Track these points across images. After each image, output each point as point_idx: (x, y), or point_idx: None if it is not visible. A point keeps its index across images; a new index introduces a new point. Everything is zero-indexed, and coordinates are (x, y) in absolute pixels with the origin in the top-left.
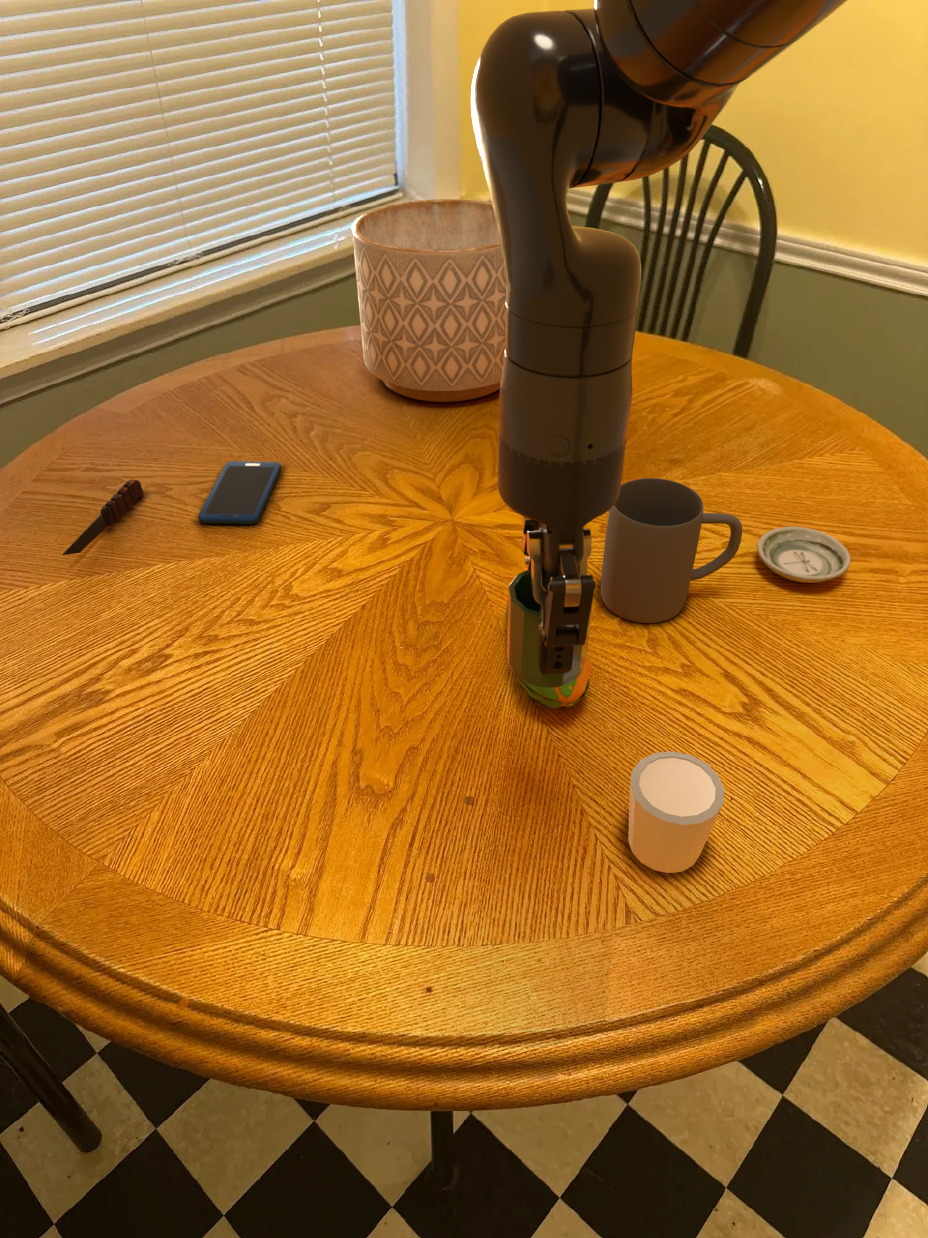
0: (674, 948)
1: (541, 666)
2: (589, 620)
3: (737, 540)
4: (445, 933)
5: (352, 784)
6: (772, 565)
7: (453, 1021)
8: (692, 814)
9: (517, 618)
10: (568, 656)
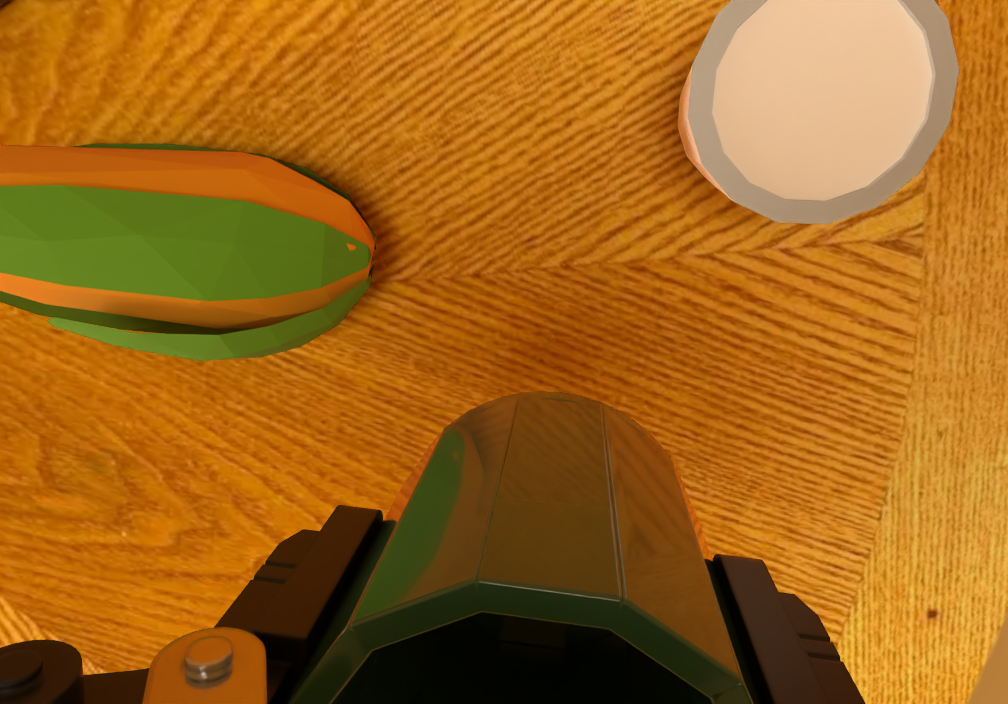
0: (1003, 177)
1: None
2: (640, 527)
3: None
4: (838, 572)
5: None
6: None
7: (1000, 589)
8: (924, 84)
9: None
10: (841, 667)
